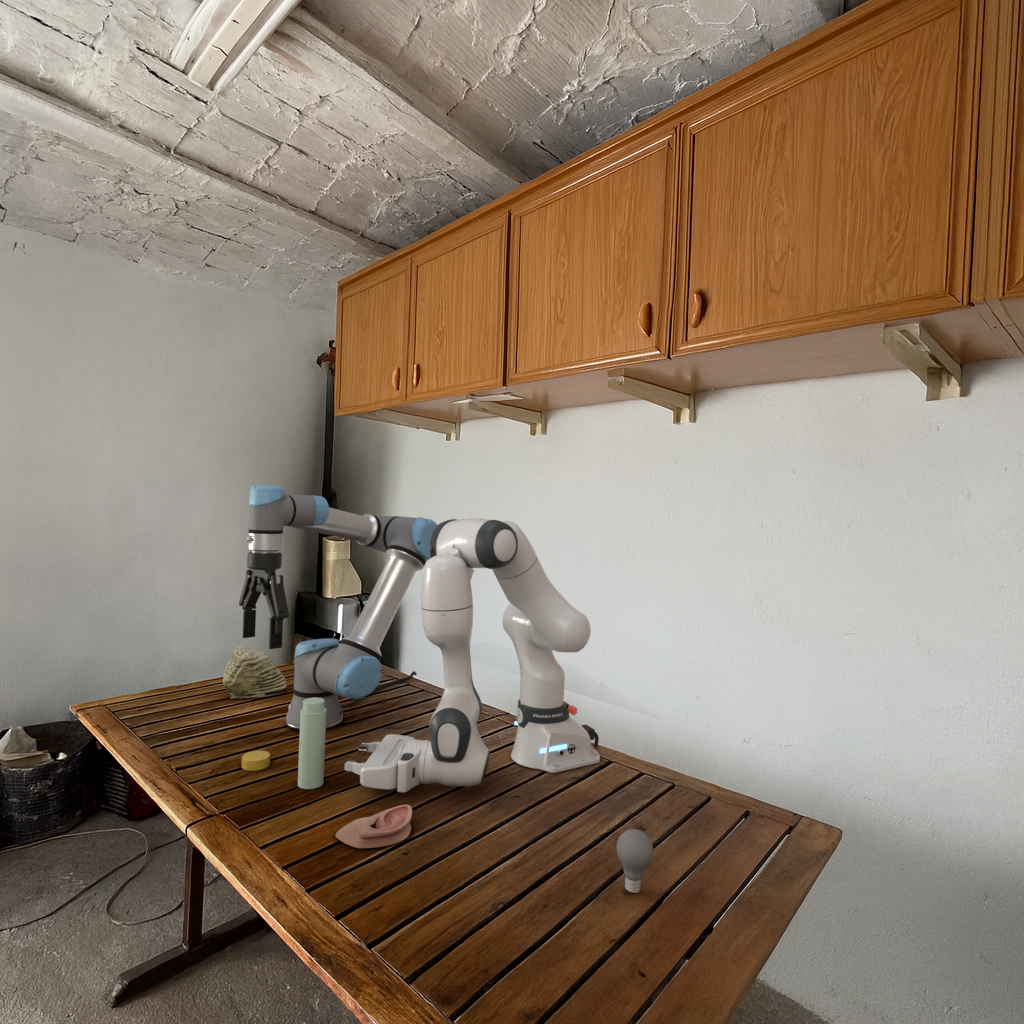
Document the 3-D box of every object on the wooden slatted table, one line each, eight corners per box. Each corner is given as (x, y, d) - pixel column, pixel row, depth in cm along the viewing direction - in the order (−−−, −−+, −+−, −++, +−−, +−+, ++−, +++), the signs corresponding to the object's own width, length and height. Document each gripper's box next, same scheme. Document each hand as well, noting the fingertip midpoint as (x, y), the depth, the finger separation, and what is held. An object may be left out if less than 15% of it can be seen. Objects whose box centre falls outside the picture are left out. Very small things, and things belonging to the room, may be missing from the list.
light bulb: (610, 879, 108) (613, 822, 108) (644, 879, 109) (647, 822, 109) (619, 902, 102) (622, 840, 102) (655, 901, 103) (658, 840, 103)
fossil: (218, 695, 195) (220, 647, 195) (278, 685, 208) (279, 640, 207) (228, 703, 189) (230, 653, 188) (289, 692, 201) (290, 645, 201)
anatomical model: (328, 822, 116) (356, 794, 127) (327, 843, 116) (355, 813, 127) (396, 832, 113) (418, 803, 124) (395, 855, 113) (418, 823, 124)
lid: (235, 766, 147) (236, 756, 147) (259, 757, 152) (260, 748, 152) (251, 773, 143) (251, 763, 143) (275, 764, 148) (275, 755, 148)
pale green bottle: (320, 776, 143) (323, 695, 143) (326, 786, 139) (329, 702, 138) (295, 780, 141) (298, 698, 140) (300, 791, 136) (303, 705, 136)
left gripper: (226, 547, 153) (223, 635, 153) (274, 557, 136) (271, 655, 136) (256, 546, 158) (253, 631, 159) (307, 556, 141) (303, 650, 142)
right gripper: (425, 729, 148) (368, 725, 149) (403, 765, 128) (337, 760, 129) (424, 756, 149) (367, 751, 150) (402, 796, 128) (336, 791, 129)
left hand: (261, 642), depth 147 cm, fingers open, 13 cm apart
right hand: (353, 756), depth 139 cm, fingers open, 8 cm apart
